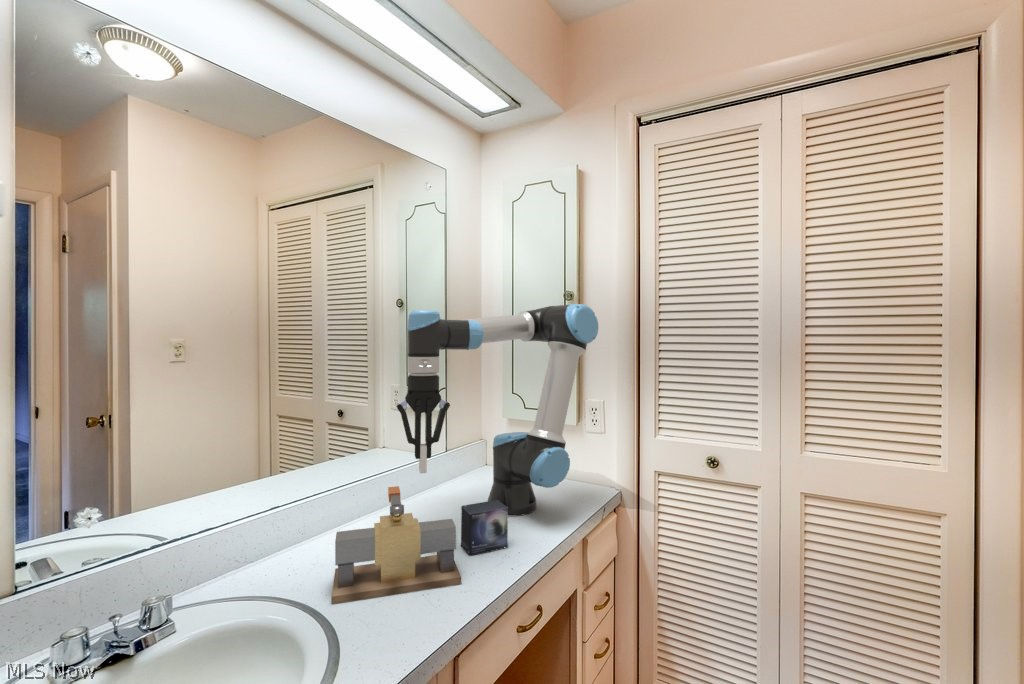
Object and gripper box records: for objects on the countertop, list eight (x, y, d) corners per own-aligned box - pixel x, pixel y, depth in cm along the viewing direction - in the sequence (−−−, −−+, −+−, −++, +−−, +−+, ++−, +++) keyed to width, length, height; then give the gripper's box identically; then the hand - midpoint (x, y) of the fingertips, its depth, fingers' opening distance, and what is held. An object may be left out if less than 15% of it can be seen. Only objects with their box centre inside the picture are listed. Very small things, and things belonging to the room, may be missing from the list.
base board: (451, 559, 113) (451, 552, 113) (461, 584, 101) (461, 577, 101) (335, 575, 105) (335, 568, 105) (331, 604, 94) (331, 596, 94)
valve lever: (404, 516, 102) (404, 506, 102) (390, 517, 101) (390, 508, 101) (399, 494, 117) (399, 486, 117) (387, 495, 116) (387, 487, 116)
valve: (451, 557, 110) (451, 503, 110) (456, 571, 104) (456, 514, 104) (337, 573, 103) (336, 515, 103) (335, 589, 96) (334, 528, 96)
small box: (469, 557, 114) (469, 513, 114) (459, 546, 120) (459, 505, 120) (508, 548, 119) (508, 506, 119) (497, 538, 125) (497, 498, 125)
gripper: (396, 375, 109) (396, 478, 109) (452, 374, 113) (452, 473, 113) (394, 373, 116) (394, 469, 116) (447, 372, 120) (447, 465, 120)
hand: (422, 471), depth 115 cm, fingers closed
